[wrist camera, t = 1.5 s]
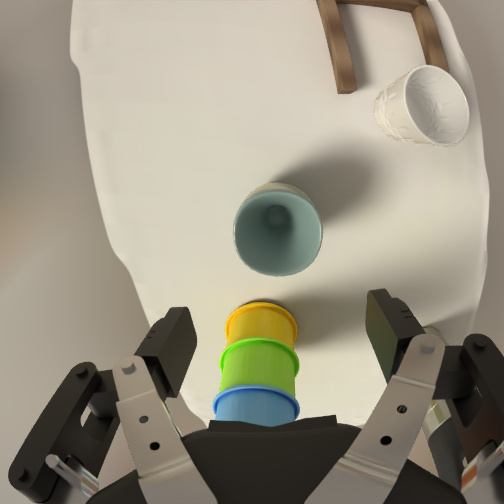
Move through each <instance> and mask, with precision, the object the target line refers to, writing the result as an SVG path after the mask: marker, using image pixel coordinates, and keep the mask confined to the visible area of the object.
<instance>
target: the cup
mask: <svg viewBox="0 0 504 504" xmlns="http://www.w3.org/2000/svg"><path fill="white" fill-rule="evenodd" d="M322 238H323V227H322V221H321V217H320V214H319V212H318V209H317V208H316V206H315V205H314V203H313V202H312V200H311V199H310V198H309V196H308V195H306V194H305V193H304V192H303V191H302V190H301V189H299V188H297V187H295V186H293V185H290V184H287V183H268V184H264V185H262V186H260V187H257V188H256V189H254V190H253V191H252V192H250V194H249V195H248V196H247V197H246V198H245V200H244V201H243V202H242V204H241V206H240V208H239V210H238V212H237V214H236V217H235V220H234V225H233V240H234V245H235V248H236V251H237V253H238V255H239V257H240V259H241V260H242V261H243V262H244V264H245V265H247V266H248V267H249V268H250V269H252V270H254V271H256V272H258V273H261V274H264V275H268V276H288V275H293V274H296V273H298V272H301V271H302V270H304V269H306V268H307V267H308V266H309V265H310V264H311V263H312V262H313V261H314V260H315V258H316V256H317V255H318V252H319V250H320V247H321V243H322Z"/></svg>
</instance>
